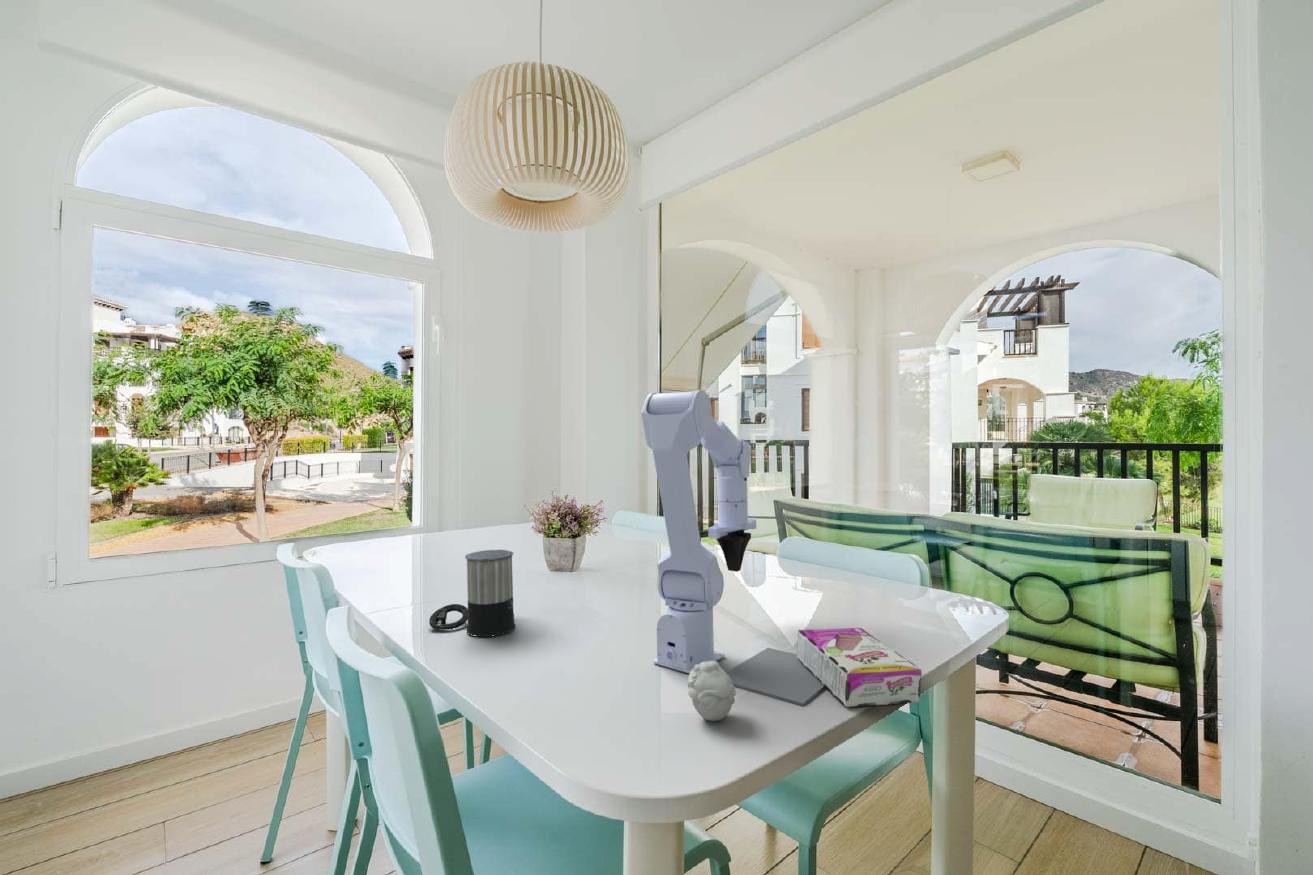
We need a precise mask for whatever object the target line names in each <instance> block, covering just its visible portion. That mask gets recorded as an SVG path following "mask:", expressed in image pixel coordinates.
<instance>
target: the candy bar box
mask: <svg viewBox="0 0 1313 875" xmlns="http://www.w3.org/2000/svg"><path fill="white" fill-rule="evenodd" d="M797 632H798V633H797V651H796V654H797V659H798V660H799V661H800V662H801V663H802V664H803V665H804V666H805V667H806V668H808V669H809V670H810V671H811V672H812V673H813V674H814V675H815V676H816V677H817V678H818V679H819V680H820V681H821V682H822V683H823V684H824V685H825V686H826V688H827V690H829V691H830V692H831V693H832V695H833V696H834V697H836V699H838V700H839V702H841V703H842V704H843V706H845V707H846V708H850V707H852V708H853V707H867V706H868V707H869V706H870V707H871V706H886V705H887V706H888V705H901V704H902V705H903V704H914V703H920V702H921V681H922V669H921V668H919V667H918V666H916V664H914V663H913V662H911V661H909V660H908V659H907V658H905V657H903V656H902V655H901V654H900V653H898V652H896V651H895V650H893V649H892V648H891V647H889V646H887V645H886V644H885V643H883V642H881V641H880V640H878V639H877V638H876V637H875V636H873V635H871V634H870V633H869V632H867V631H866V630H865V629H863V628H862V627H854V628H853V627H852V628H849V627H847V628H828V629H827V628H826V629H824V628H823V629H822V628H821V629H799V630H798V631H797Z"/></svg>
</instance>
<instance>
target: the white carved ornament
mask: <svg viewBox="0 0 1313 875" xmlns="http://www.w3.org/2000/svg"><path fill="white" fill-rule="evenodd" d="M687 687H688V696H689V697H690V698H691V702H692V705H693V707H694V709H695V711H696V712H697V713H698V715H699V716H700V717H701V718H703V719H705V720H707V721H710V722H717V721H721V720H723V719H724V718H726V717H727V715H729V713H730V711H731V709H732V706H733V704H735V702H736V700H735V697H736V695H737V692H736V687H735V686H734V685H733V684H732V681H731V678H730V677H729V675H728V674H727V673H726V671H724V669H723V668H722V667H721V665H720V663H719V662H718V661H707V662H706V661H705V662H701V663H700V664H699V665H698V664H697V665H695V666H694V668H693V669H692V671H691V672H690V673H688V677H687Z"/></svg>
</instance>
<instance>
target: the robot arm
mask: <svg viewBox="0 0 1313 875" xmlns="http://www.w3.org/2000/svg"><path fill="white" fill-rule="evenodd" d="M712 408H713V407H712V402H711V398H710V396H709V395H708V393H707V392H706V391H705V390H703V389H698V390H697V389H696V390H695V391H693V390H692V391H677V392H675V391H674V392H663V393H657V392H651V393H649V394H648V395H647V396H646V398H645V400H644V403H643V407H642V410H641V420H642V425H643V426H642V427H643V430H644V437H645V440H646V446H647V447H648V448H649V449H651V450H652V454H653V459H654V460H653V461H654V465H655V466H654V467H655V472H656V477H657V483H658V488H659V494H660V498H661V500H660V501H661V506H662V511H663V516H664V523H665V527H666V533H667V539H668V540H667V541H668V545H669V550H667V551H666V552H665V553H664V554H663V555H662V556H661V557H660V559H659V561H658V563H657V580H656V581H657V590H658V594H659V596H660V597H661V599H662V600H664V602H665V603H664V606H667V607H668V609H667V611H666V612H665V613H664V614H663V615H661V617H659V619H658V621H657V624H656V655H657V656H656V657H657V658H655V659H653V662H652V663H653V664H654V665H658V666H659V665H660V666H663V667H666V668H670V669H673V670H676V671H679V672H682V673H687V674H690V672H691V671H692V669H693V668H694V666H695V665H697V664H698V665H699V664H700V663H701V662H705V661H706V662H707V661H716V662H718V661H719V660H721V659H723V658H724V657H725V653H724V652H720V651H717V650H715V641H714V638H715V637H714V636H715V635H714V607H715V606H716V605H717V604H718V603H719V602H720V601H721V599H722V596H723V593H724V589H725V588H724V586H725V585H724V584H725V581H724V576H723V575H724V574H723V573H722V571H721V568H720V566H719V563H718V562H719V561H718V557H717V556H716V555H715V554H714V553H713V552H712V551H710V550H709V549H707V548H706V547H705V546H704V545H702V542H701V541H702V540H701V534H700V529H699V523H698V516H697V510H696V505H695V498H694V492H693V485H692V480H691V478H692V477H691V474H690V473H691V472H690V468H689V466H690V465H689V461H688V460H689V458H688V454H689V451H691V450H693V449H695V448H697V447H698V446H700V444H701V446H702V447H703V448H704V449H705V450H706V451H707V452H708V453H709V456H710V458H711V461H712V465H713V466H714V468H716V469H717V470H716V471H717V505H718V506H717V508H718V510H717V512H718V522H717V523H716V524H714V525H712V526H709V527H708V528H707V530H708V531H707V532H708V537H707V538H709V539H716V541H717V543H718V544H719V547H720V548H721V551H722V554H723V557H724V560H725V564H726V567H727V571H731V572H736V573H737V572H739V571H741V569H742V565H743V560H744V555H745V552H746V549H747V547H748V544H749V542H750V541H751V538H752V533H751V532H745V531H749V530H756V529H757V519H756V518H749V511H748V509H749V508H748V507H749V506H748V502H749V501H748V477H750V466H751V462H752V451H751V446H750V443H749V442H748V441H745V439H742V438H741V439H740V438H738V437H737V436H736V435H735V434H734V432H733V431H732V430H731V429H730V428H729V427H728V426H727V425H726V423H725V422H724V421H716V419H715V418H714V417H713V415H712V414H713V409H712Z"/></svg>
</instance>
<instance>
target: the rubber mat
mask: <svg viewBox="0 0 1313 875" xmlns="http://www.w3.org/2000/svg"><path fill="white" fill-rule="evenodd" d="M725 673H727V674H728V675H729V677H730V678H731V681H732V684H733V685H734V688H739V689H741V690H742V689H743V690H745V691H749V692H753V693H756V694H759V695H762V696H765V697H766V696H767V697H769V698H774V699H776V700H781V701H784V702H788V703H789V704H790V703H791V704H793V705H797V706H802V707H804V706H805V705H807V704H808V703H809V702H810V701H811V700H813V699H814V698H815V697H816V696H818V695H819V694H820V693H821V692H822V691H823V690H824V689H826V688H827V687H826V686H825V685H824V684H823V683H822V682H821V681H820V680H819V679H818V678H817V677H816V676H815V675H814V674H813V673H812V672H811V671H810V670H809V669H808V668H806V667H805V666H804V665H803V664H802V663H801V662H800V661H799V660H798V659H797V653H792V652H789V651H784V650H779V649H775V648H771V647H766V648H765V649H763V650H761V651H760V652H758V653H756V654H755V655H753V656H751V657H749V658H748V659H746V660H745V661H743V662H741V663H740V664H738V665H736V666H735V667H732V668H731V669H729V670H728V671H725Z"/></svg>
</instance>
